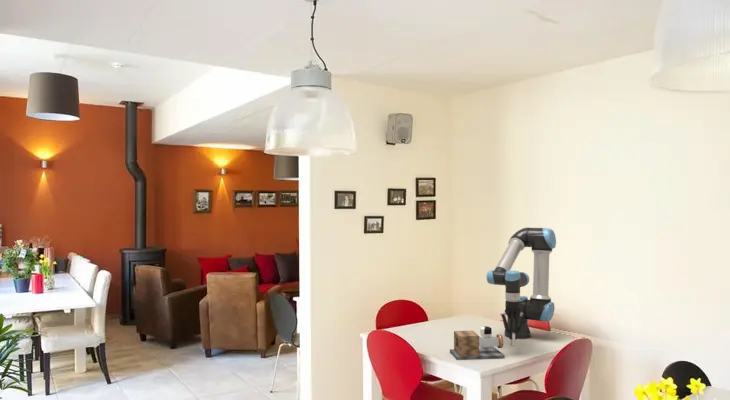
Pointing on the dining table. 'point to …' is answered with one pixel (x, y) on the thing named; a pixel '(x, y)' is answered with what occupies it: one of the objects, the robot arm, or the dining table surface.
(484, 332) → the medicine bottle
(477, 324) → the dining table surface
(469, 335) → the bearing block
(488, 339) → the shaft
